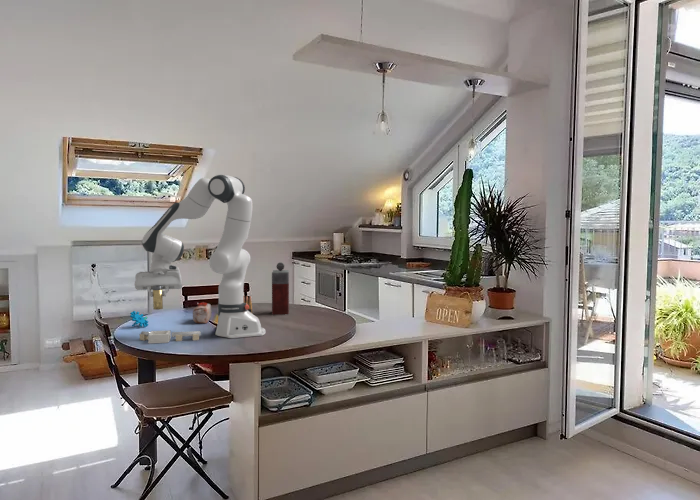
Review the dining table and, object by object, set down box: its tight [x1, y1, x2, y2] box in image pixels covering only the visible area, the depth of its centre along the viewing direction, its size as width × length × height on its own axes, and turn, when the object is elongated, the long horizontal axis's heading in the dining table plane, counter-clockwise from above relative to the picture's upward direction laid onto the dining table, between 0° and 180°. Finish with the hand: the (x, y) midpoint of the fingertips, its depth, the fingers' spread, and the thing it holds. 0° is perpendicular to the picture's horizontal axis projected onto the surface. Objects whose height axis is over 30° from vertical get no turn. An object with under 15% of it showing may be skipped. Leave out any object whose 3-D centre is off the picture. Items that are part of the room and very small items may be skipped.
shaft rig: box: [147, 330, 202, 344], centre depth 230 cm, size 21×8×4 cm, turn 102°
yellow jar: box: [152, 286, 164, 311], centre depth 237 cm, size 4×4×10 cm
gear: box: [129, 310, 149, 328], centre depth 257 cm, size 11×6×10 cm
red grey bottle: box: [271, 261, 290, 316], centre depth 293 cm, size 9×11×28 cm
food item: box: [192, 301, 212, 324], centre depth 270 cm, size 14×8×10 cm, turn 7°
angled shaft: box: [139, 330, 151, 341], centre depth 231 cm, size 4×4×4 cm
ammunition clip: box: [243, 295, 253, 314], centre depth 278 cm, size 11×2×12 cm, turn 88°
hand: (157, 295), depth 236 cm, fingers closed on yellow jar, 4 cm apart
